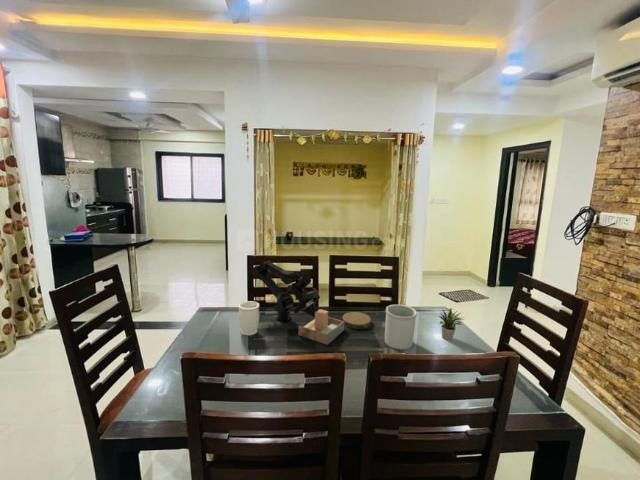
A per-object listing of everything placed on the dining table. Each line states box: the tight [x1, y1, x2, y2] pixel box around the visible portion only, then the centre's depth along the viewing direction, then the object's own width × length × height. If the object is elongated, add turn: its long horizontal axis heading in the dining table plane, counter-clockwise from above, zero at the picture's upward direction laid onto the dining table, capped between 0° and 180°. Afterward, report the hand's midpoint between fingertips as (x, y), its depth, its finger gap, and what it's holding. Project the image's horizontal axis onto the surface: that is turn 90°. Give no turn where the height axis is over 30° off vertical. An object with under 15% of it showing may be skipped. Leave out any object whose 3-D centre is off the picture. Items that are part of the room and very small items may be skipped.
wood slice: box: [341, 311, 372, 330], centre depth 191 cm, size 16×16×3 cm
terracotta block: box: [314, 308, 329, 331], centre depth 177 cm, size 5×5×9 cm
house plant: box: [438, 307, 466, 341], centre depth 175 cm, size 14×14×16 cm
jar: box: [237, 300, 260, 336], centre depth 174 cm, size 11×10×15 cm
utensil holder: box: [384, 304, 418, 350], centre depth 169 cm, size 15×15×18 cm
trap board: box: [297, 316, 333, 342], centre depth 179 cm, size 10×18×5 cm, turn 150°
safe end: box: [315, 317, 345, 346], centre depth 175 cm, size 7×18×5 cm, turn 150°
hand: (316, 317), depth 178 cm, fingers closed, pressing on terracotta block
